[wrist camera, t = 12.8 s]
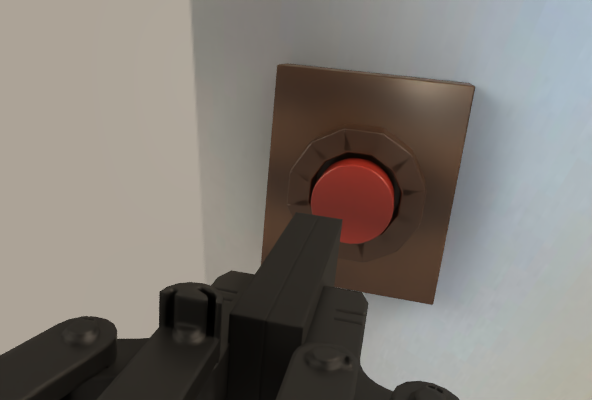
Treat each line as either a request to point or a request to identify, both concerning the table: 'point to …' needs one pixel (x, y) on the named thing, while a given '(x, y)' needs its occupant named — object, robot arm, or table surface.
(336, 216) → the button
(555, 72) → the table surface
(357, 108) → the button block
